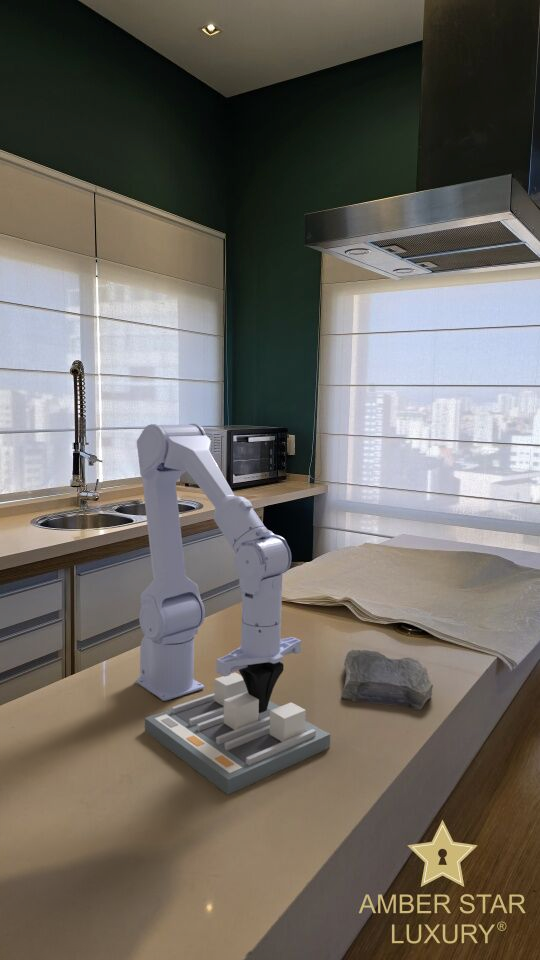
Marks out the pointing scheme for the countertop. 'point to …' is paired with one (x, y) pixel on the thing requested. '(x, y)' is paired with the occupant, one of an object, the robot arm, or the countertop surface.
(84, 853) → the countertop surface
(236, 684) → the tab left
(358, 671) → the grey rock
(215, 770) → the switch panel
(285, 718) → the tab right
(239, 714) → the tab middle
